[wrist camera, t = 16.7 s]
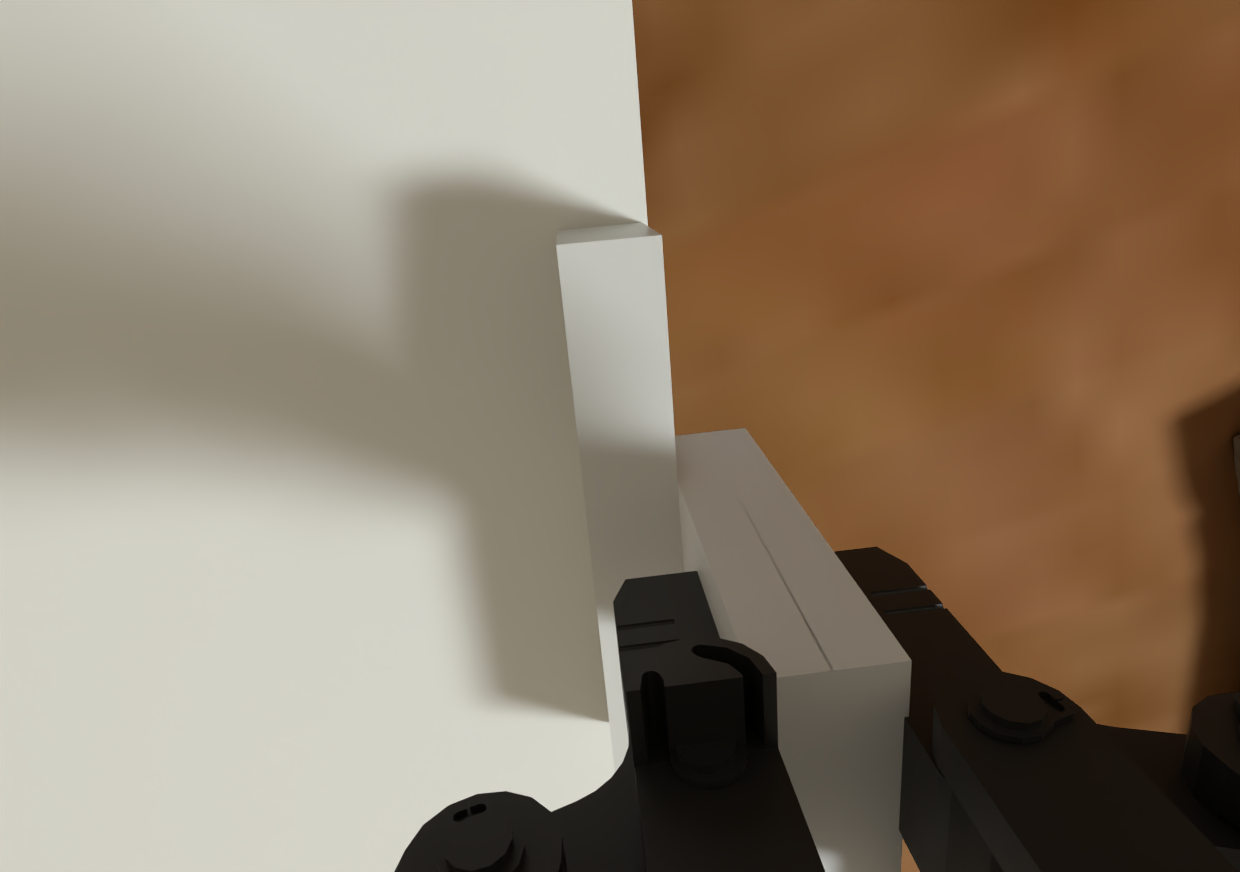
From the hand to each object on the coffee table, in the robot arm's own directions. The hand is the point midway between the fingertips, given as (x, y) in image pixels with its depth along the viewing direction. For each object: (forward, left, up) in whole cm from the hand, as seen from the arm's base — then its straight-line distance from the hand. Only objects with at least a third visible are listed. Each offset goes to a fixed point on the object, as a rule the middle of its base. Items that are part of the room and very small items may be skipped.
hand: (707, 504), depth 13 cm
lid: (0, -8, -2) cm, 9 cm away
